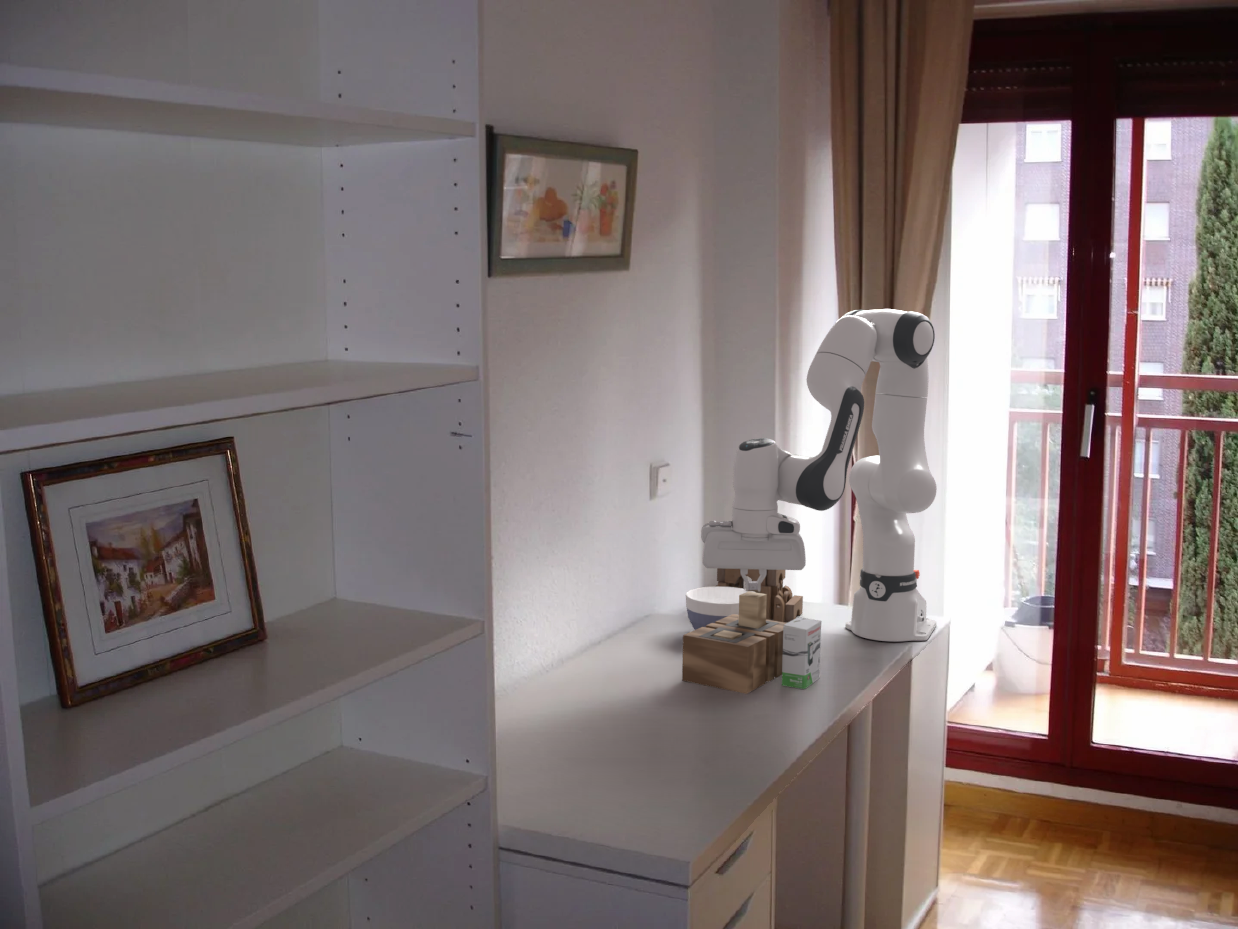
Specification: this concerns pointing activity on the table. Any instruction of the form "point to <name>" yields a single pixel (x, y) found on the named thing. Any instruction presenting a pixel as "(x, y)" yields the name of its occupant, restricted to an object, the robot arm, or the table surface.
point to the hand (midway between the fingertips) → (752, 590)
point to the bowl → (712, 604)
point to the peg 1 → (728, 635)
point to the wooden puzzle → (767, 592)
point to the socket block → (733, 655)
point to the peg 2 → (752, 609)
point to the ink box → (801, 652)
